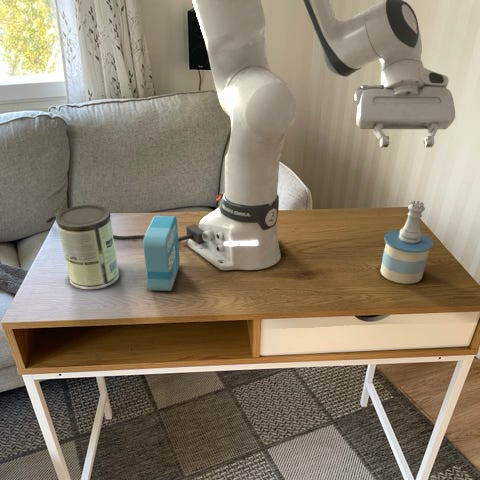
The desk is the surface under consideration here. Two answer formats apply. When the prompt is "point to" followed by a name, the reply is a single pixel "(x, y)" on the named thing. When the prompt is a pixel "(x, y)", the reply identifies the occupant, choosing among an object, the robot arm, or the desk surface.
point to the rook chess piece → (412, 224)
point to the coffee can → (88, 246)
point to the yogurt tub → (404, 258)
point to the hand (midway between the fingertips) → (407, 146)
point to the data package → (161, 253)
